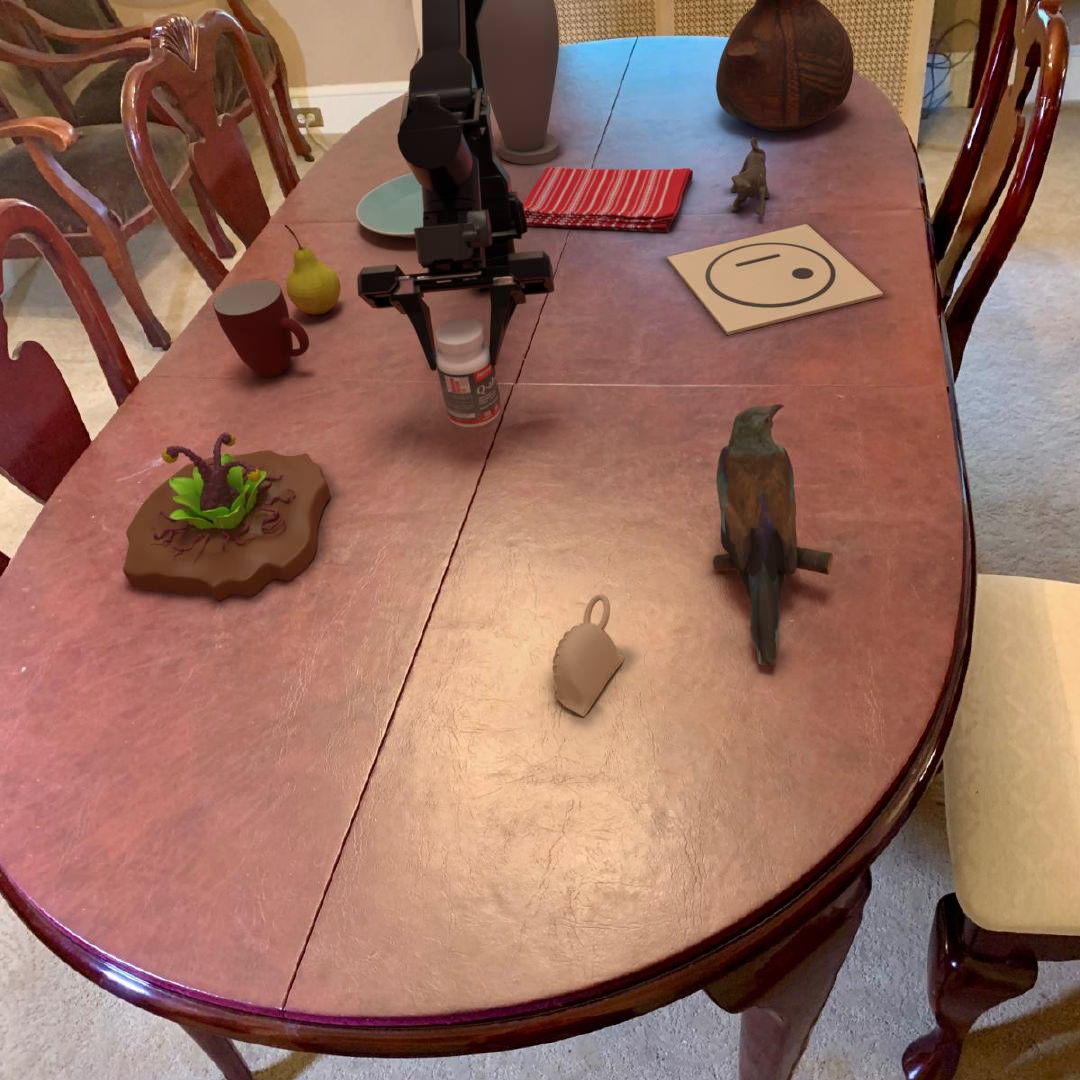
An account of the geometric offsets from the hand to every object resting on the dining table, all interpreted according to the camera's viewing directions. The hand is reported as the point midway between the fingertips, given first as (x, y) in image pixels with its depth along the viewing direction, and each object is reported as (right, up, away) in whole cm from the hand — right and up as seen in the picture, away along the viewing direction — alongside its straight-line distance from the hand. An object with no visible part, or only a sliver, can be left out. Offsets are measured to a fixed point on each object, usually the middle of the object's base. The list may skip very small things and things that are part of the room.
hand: (463, 367), depth 92 cm
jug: (+47, +52, +62) cm, 94 cm away
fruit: (-22, +13, +33) cm, 42 cm away
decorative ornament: (+12, -28, -14) cm, 34 cm away
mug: (-24, +4, +24) cm, 35 cm away
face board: (+37, +16, +27) cm, 48 cm away
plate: (-9, +32, +50) cm, 61 cm away
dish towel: (+17, +33, +47) cm, 60 cm away
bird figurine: (+28, -20, -9) cm, 36 cm away
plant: (-24, -16, +4) cm, 29 cm away
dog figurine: (+37, +31, +42) cm, 64 cm away
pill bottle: (+1, -4, +6) cm, 7 cm away
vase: (+5, +47, +63) cm, 79 cm away
